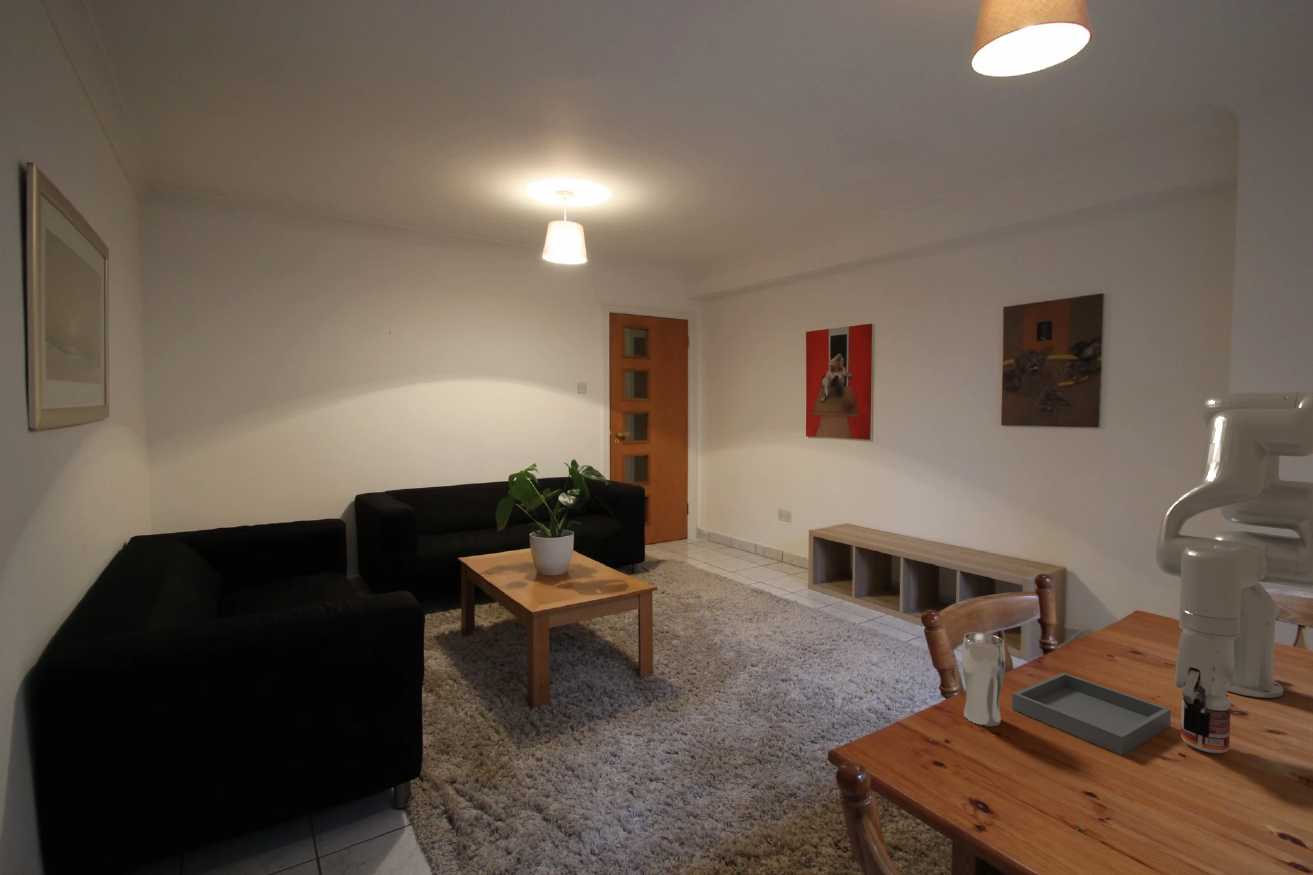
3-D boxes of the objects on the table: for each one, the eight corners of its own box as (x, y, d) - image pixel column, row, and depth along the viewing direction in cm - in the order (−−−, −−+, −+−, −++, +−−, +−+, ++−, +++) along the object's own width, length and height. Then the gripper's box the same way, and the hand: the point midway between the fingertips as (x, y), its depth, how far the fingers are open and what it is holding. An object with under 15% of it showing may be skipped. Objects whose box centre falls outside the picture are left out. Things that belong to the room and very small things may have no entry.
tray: (1062, 687, 126) (1063, 672, 126) (1170, 726, 111) (1170, 709, 111) (1012, 709, 117) (1012, 693, 117) (1121, 755, 102) (1122, 736, 102)
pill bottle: (1234, 746, 103) (1237, 680, 102) (1222, 759, 100) (1224, 690, 99) (1187, 730, 108) (1189, 667, 108) (1174, 741, 105) (1176, 676, 104)
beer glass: (1001, 713, 116) (1003, 634, 115) (1005, 731, 110) (1007, 648, 109) (960, 706, 119) (962, 629, 118) (961, 722, 112) (963, 642, 112)
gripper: (1202, 606, 110) (1198, 703, 111) (1157, 625, 102) (1154, 731, 103) (1258, 618, 104) (1254, 722, 105) (1216, 640, 95) (1212, 753, 96)
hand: (1205, 725), depth 104 cm, fingers closed on pill bottle, 6 cm apart
